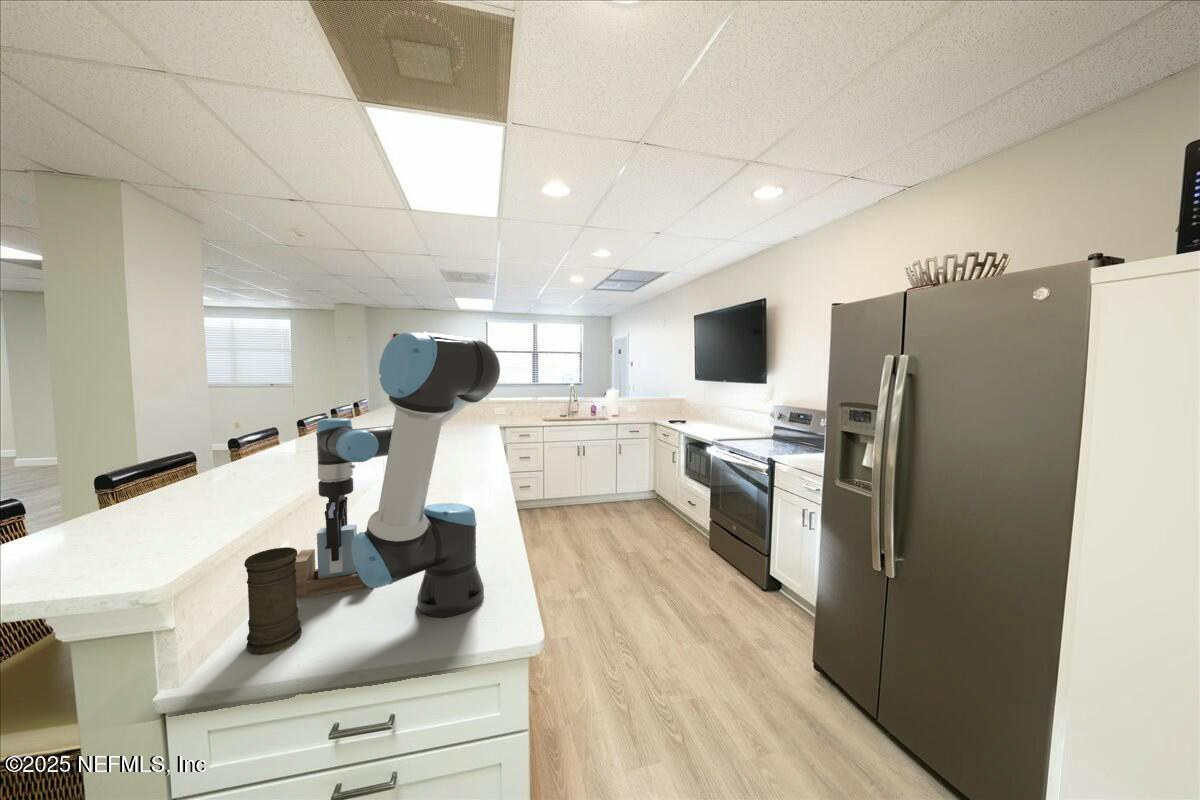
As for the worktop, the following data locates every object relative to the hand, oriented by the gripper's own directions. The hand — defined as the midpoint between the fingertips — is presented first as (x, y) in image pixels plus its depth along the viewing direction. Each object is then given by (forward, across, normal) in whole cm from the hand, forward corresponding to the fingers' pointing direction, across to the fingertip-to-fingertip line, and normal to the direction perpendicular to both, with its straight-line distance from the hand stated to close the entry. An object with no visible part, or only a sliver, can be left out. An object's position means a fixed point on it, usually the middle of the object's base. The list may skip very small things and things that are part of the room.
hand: (338, 567), depth 107 cm
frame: (+5, 0, 0) cm, 5 cm away
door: (+2, 0, 0) cm, 2 cm away
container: (+5, -22, +7) cm, 23 cm away
